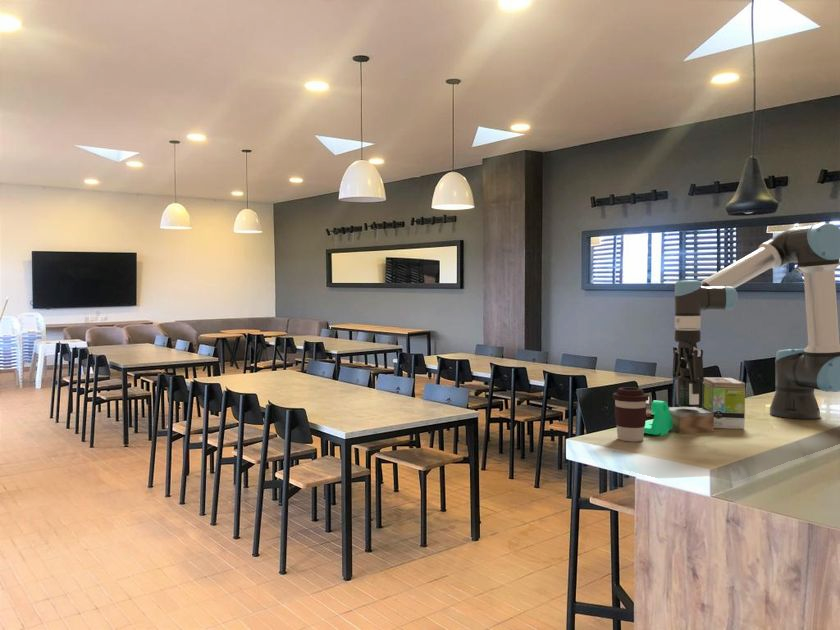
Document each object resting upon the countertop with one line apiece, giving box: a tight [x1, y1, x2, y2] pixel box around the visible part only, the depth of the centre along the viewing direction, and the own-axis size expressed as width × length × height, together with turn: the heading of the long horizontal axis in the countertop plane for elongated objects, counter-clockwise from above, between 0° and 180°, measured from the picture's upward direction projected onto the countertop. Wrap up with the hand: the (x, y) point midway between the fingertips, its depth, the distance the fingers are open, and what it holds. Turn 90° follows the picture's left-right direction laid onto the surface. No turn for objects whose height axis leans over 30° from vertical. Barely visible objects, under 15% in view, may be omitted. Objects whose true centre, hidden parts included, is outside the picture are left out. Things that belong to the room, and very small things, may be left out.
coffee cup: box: [612, 386, 649, 443], centre depth 190 cm, size 10×10×15 cm
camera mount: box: [644, 399, 673, 437], centre depth 199 cm, size 12×8×10 cm, turn 135°
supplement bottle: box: [676, 366, 701, 408], centre depth 203 cm, size 7×7×12 cm
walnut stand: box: [668, 406, 715, 434], centre depth 204 cm, size 11×11×6 cm
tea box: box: [701, 376, 746, 430], centre depth 210 cm, size 15×10×15 cm, turn 168°
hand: (687, 402), depth 204 cm, fingers closed on supplement bottle, 7 cm apart
